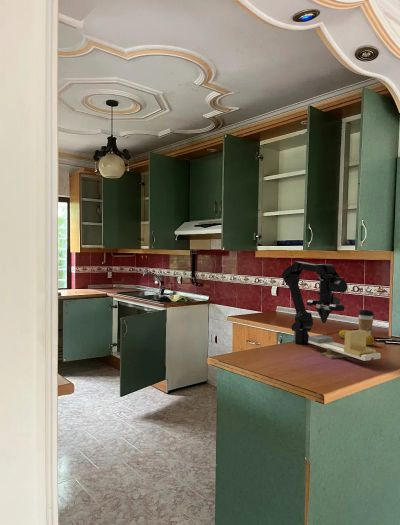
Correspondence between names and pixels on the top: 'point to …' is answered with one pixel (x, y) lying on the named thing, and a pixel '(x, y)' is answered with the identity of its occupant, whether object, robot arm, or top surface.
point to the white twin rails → (338, 347)
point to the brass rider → (356, 343)
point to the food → (368, 337)
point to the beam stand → (333, 354)
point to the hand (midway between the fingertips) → (324, 323)
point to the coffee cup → (365, 320)
